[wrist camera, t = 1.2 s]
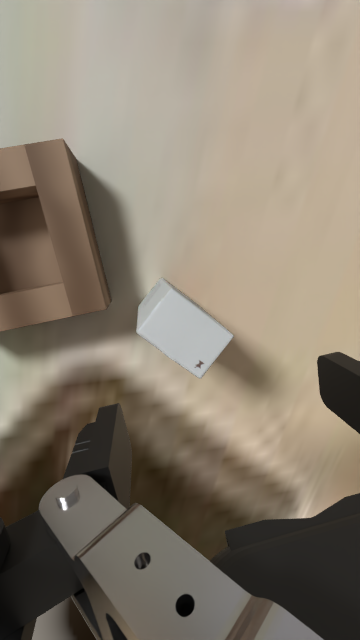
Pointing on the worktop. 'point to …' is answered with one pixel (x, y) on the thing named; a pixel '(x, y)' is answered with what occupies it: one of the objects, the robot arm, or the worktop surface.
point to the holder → (46, 238)
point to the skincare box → (181, 328)
